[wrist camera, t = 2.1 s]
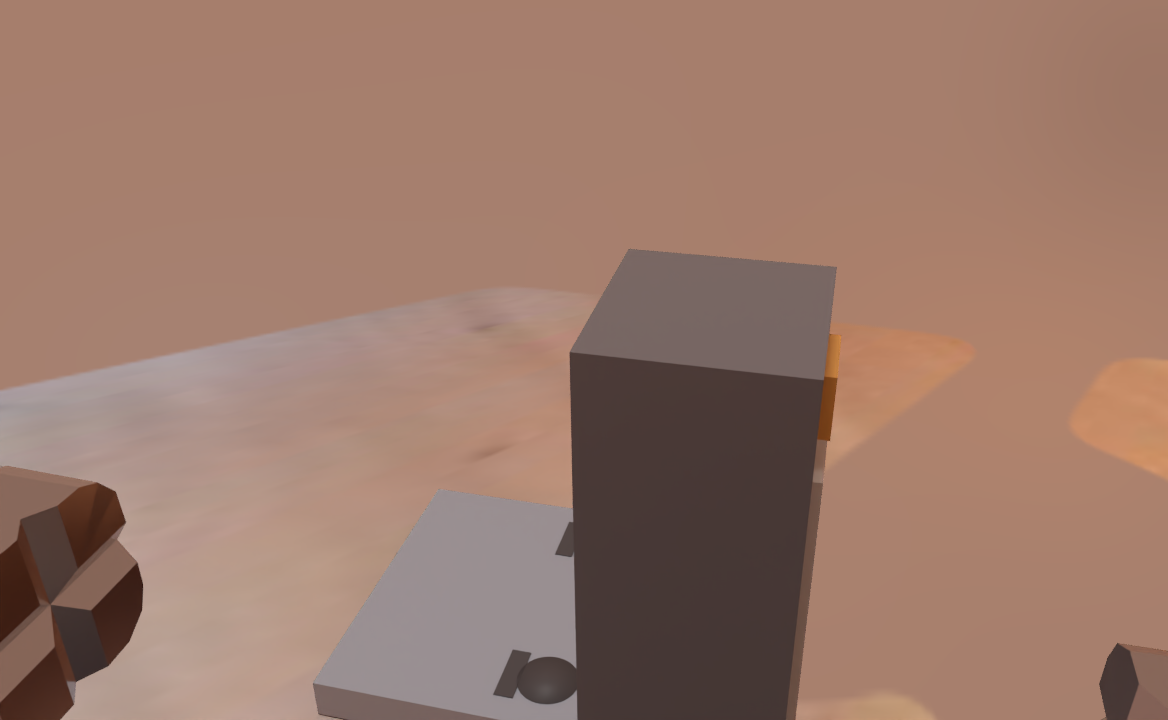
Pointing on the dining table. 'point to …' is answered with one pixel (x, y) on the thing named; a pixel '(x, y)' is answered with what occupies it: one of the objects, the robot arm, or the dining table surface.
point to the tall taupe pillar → (698, 484)
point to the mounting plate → (465, 620)
